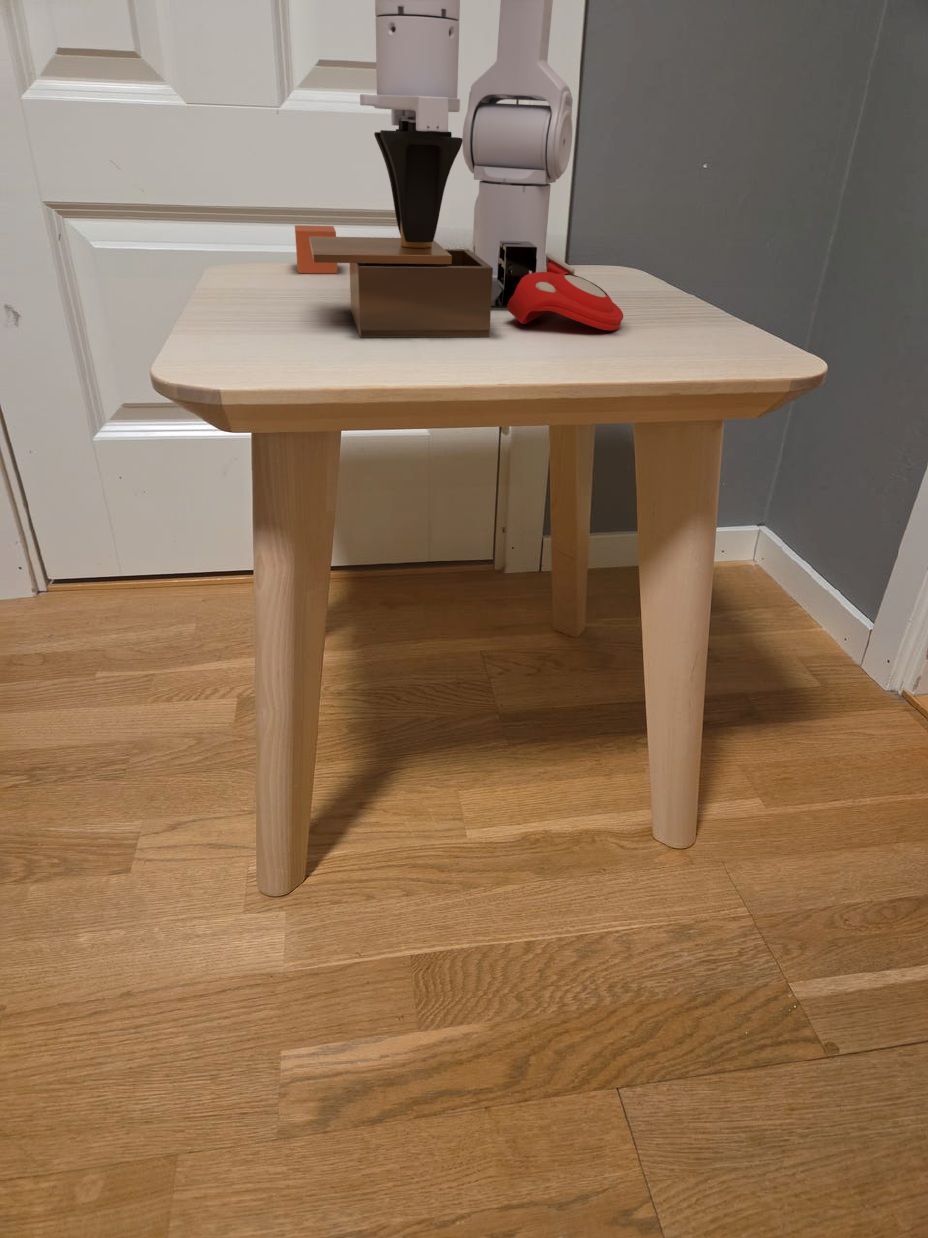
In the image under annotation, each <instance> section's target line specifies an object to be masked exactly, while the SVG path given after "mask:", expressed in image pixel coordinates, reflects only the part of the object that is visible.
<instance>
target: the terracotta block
mask: <svg viewBox="0 0 928 1238" xmlns="http://www.w3.org/2000/svg"><path fill="white" fill-rule="evenodd" d="M294 235H295V251H296V252H295V253H296V267H297V273H298V274H338V263H314V260H313V256H312V252H311V247H310V241H309V237H310V236H318V237H337V231H336V229H335V227H334V226H333V225H307V224H306V225H305V224H304V225H300V224H299V225H298V224H295V225H294Z"/></svg>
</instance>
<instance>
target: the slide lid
mask: <svg viewBox="0 0 928 1238" xmlns="http://www.w3.org/2000/svg"><path fill="white" fill-rule="evenodd" d="M309 241H310V247H311V252H312V256H313V260H314V263H337V264H350V263H387V264H452V255H450V254H449V253H448V252H447V251H446V250H445V249H446V248H444V247H443V246H442V245H440V244H439V243H438V242H437V241H436V240H435V239H434V240H433V242H406V241H405V238H404V234H403V230H402V225H401V235H400V237H380V236H379V237H374V236H373V237H372V236H336V237H318V236H310V237H309Z"/></svg>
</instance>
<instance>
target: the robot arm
mask: <svg viewBox="0 0 928 1238" xmlns="http://www.w3.org/2000/svg"><path fill="white" fill-rule="evenodd" d="M553 1H554V0H500V5H499V6H500V7H499V21H498V36H497V51H496V60H495V62H494V63H493V64H492V65H491V66H490V67H489V68H487V70H486V71H484V72H483V74H481V75H480V76H479V77H478V78H477V79H476V80H475V81H474V82H473V83H472V84H471V86H470V91H469V96H468V103H467V111H466V115H465V117H464V122H463V127H462V135H461V136H462V137H459V136H458V137H457V136H456V137H455V136H452V131H449V113H459V112H460V110H461V99H460V98H458V87H459V86H458V85H459V84H458V83H459V54H460V53H459V51H460V50H459V49H460V13H461V12H460V11H461V10H460V9H461V0H374V3H375V4H374V7H375V10H374V11H375V63H376V65H375V66H376V67H375V68H376V75H375V76H376V94H367V93H366V94H364V93H363V94H362V93H361V94H359V105H360V106H365V107H367V106H368V107H369V106H370V107H373V108H374V109H377V110H380V109H381V110H390V115H391V116H390V117H391V121H390V122H391V126H395V127H396V126H398V128H395V130H387V129H386V130H385V129H384V130H383V129H381V130H380V131H375V132H374V133H373V134H374V138H375V140H376V143H377V145H378V148H379V150H380V152H381V155H382V158H383V161H384V163H385V167H386V170H387V175H388V178H389V183H390V188H391V195H392V200H393V207H394V208H393V209H394V213H395V219H396V224H397V229H398V233H399V235H400V236H401V225H402V230H403V234H404V238H405V241H406V242H433V240H435V237H436V232H437V228H438V224H439V218H440V213H441V207H442V202H443V198H444V193H445V189H446V186H447V181H448V178H449V176H450V173H451V169H452V167H453V164H454V162H455V161H456V158H457V156H458V154H459V152H460V150H461V147H462V155H463V160H464V163H465V165H466V166H467V168H468V170H469V172H470V173H471V174H473V180H474V181H475V180H476V181H478V194H477V196H476V199H475V201H474V206H473V207H474V208H473V231H472V252H473V253H474V254H476V255H477V256H478V257H479V258H481V259H482V260H483V261H485V262H486V263H487V264H488V265H490V266H491V267H492V268H493V277H492V280H497V269H498V252H499V243H500V241H527V242H531V243H532V244H533V245H535V246H536V247H537V255H536V259H537V265H536V272H547V271H546V270H545V269H544V267H545V259H546V245H547V234H548V222H549V211H550V207H549V206H550V200H551V199H550V198H551V195H550V194H551V187H552V186H551V185H552V183H556V182H557V180H559V179H560V178H561V177H562V175H563V174H564V173H565V172H566V170H567V168H568V166H569V162H570V157H571V153H572V152H571V151H572V145H573V144H572V143H573V117H572V116H573V115H572V114H573V102H574V99H573V95H572V92H571V89H570V87H569V86H568V84H567V83H566V82H565V80H563V79H562V78H561V76H559V75H558V73H557V72H556V71H555V70H554V69H553V68H552V67H551V66H550V65H549V63H548V58H549V57H548V56H549V45H550V36H551V27H552V26H551V25H552V23H551V22H552V16H553V15H552V13H553ZM505 100H512V101H537V102H547V103H548V105H546V104H545V105H544V104H523V103H522V104H521V103H499V102H501V101H505ZM502 266H503V265H502ZM531 273H532V271H530V270H529V274H531Z"/></svg>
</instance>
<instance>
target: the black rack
mask: <svg viewBox="0 0 928 1238" xmlns="http://www.w3.org/2000/svg"><path fill="white" fill-rule="evenodd" d="M536 255H537V247H536V246H535V245H533V244H532V243H531V242H527V241H500V243H499V252H498V269H497V280H492V295H491V310H508V309H507V304H508V302H509V300H510V299H511V297H512V296H513V295H514V292H515V290H516V288H517V286H518V284H519V282H520V280H521V279H522V278H523V277H524V276H525V275H528V274H529V270H530V271H532V273H536V265H537V259H536ZM502 265H503V266H502Z"/></svg>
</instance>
